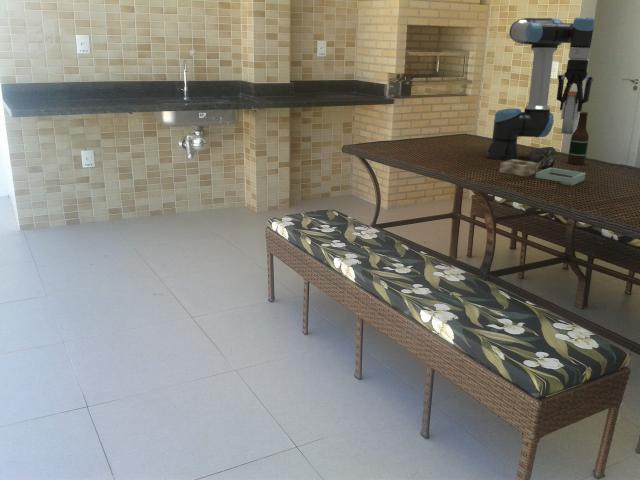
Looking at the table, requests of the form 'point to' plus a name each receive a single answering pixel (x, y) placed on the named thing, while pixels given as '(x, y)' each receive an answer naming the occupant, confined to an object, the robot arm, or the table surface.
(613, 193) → the table surface
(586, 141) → the beer bottle
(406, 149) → the table surface
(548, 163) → the rock
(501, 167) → the block
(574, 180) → the tray
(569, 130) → the pin
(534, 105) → the robot arm
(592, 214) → the table surface
